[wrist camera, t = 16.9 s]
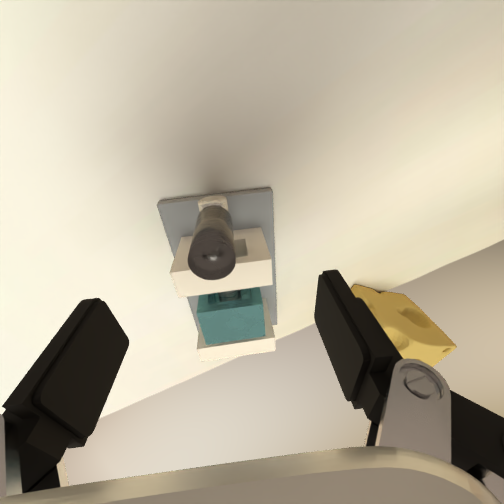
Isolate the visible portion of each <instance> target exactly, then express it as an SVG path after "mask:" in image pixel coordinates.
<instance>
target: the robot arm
mask: <svg viewBox="0 0 504 504" xmlns="http://www.w3.org/2000/svg"><path fill="white" fill-rule="evenodd" d="M314 318H315V322H316V325H317V328H318V330H319V333H320V335H321V337H322V340H323V343H324V345H325V348H326V350H327V353H328V356H329V358H330V361H331V363H332V366H333V368H334V371H335V373H336V375H337V378H338V381H339V383H340V386H341V388H342V391H343V393H344V396H345V398H346V400H347V401H351V402H352V404H353V407H354V409H361V408H363V409H364V412H365V414H366V416H367V418H368V419H369V420H370V421H369V426H368V430H367V434H366V438H365V443H364V447H349V448H341V449H333V450H324V451H315V452H306V453H298V454H291V455H284V456H277V457H270V458H262V459H255V460H247V461H241V462H233V463H226V464H219V465H211V466H205V467H197V468H190V469H183V470H176V471H169V472H162V473H155V474H148V475H141V476H134V477H128V478H120V479H113V480H106V481H100V482H93V483H86V484H79V485H73V486H69V482H68V477H67V473H66V468H65V463H64V458H63V455H64V452H65V450H66V448H76V447H83V446H84V445H85V443H86V441H87V438H88V436H90V435H91V434H92V433H93V431H94V429H95V427H96V424H97V422H98V419H99V417H100V414H101V412H102V410H103V407H104V405H105V402H106V400H107V397H108V395H109V393H110V390H111V388H112V385H113V383H114V380H115V378H116V376H117V373H118V371H119V368H120V366H121V363H122V361H123V359H124V356H125V354H126V351H127V349H128V346H129V339H128V337H127V336H126V334H125V332H124V331H123V329H122V328H121V326H120V325H119V323H118V321H117V320H116V318H115V317H114V315H113V314H112V312H111V310H110V309H109V307H108V306H107V304H106V303H105V302H104V301H102V300H101V299H99V298H94V299H85V300H82V301H81V302H80V303H79V304H78V305H77V307H76V308H75V309H74V311H73V312H72V313H71V315H70V316H69V317H68V319H67V320H66V321H65V323H64V324H63V325H62V327H61V328H60V329H59V331H58V332H57V333H56V335H55V336H54V338H53V339H52V340H51V342H50V343H49V344H48V346H47V347H46V348H45V350H44V351H43V352H42V354H41V355H40V356H39V358H38V359H37V360H36V362H35V363H34V364H33V366H32V367H31V368H30V370H29V371H28V372H27V374H26V375H25V376H24V378H23V379H22V380H21V382H20V383H19V384H18V386H17V387H16V388H15V390H14V391H13V392H12V394H11V395H10V396H9V398H8V399H7V400H6V402H5V403H4V404H3V406H2V407H4V408H5V409H6V410H5V412H4V413H3V414H2V415H1V414H0V504H504V418H503V417H501V416H499V415H497V414H495V413H493V412H491V411H489V410H488V409H486V408H484V407H482V406H480V405H478V404H476V403H474V402H472V401H470V400H468V399H466V398H464V397H463V396H461V395H459V394H457V393H455V392H453V391H451V390H450V388H449V386H448V384H447V382H446V380H445V379H444V378H443V377H442V376H441V374H440V373H439V372H438V371H436V370H435V369H434V368H433V367H431V366H430V365H428V364H426V363H424V362H422V361H419V360H416V359H409V358H406V359H403V357H402V356H401V354H400V353H399V352H398V350H397V349H396V347H395V346H394V344H393V343H392V341H391V340H390V338H389V337H388V335H387V334H386V333H385V331H384V330H383V328H382V327H381V325H380V324H379V322H378V321H377V319H376V318H375V316H374V315H373V314H372V312H371V311H370V309H369V308H368V306H367V305H366V303H365V302H364V301H363V299H361V298H360V297H355V295H354V294H353V292H352V291H351V289H350V288H349V286H348V285H347V283H346V282H345V280H344V279H343V277H342V276H341V274H340V273H339V271H338V270H328V271H323V273H322V275H319V278H318V287H317V296H316V305H315V314H314Z"/></svg>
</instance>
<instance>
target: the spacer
mask: <svg viewBox="0 0 504 504" xmlns="http://www.w3.org/2000/svg"><path fill="white" fill-rule="evenodd" d="M240 292H241V299H239V300H232V301H225V302H220V300H219V296H218V292H217V293H210V294H203V295H199V298H198V305H197V313H196V314H197V317H198V320H199V323H200V327H201V330H202V333H203V336H204V339H205V343H206V345H210V344H216V343H223V342H230V341H237V340H243V339H250V338H257V337H263V336H266V335H265V322H264V309H263V301H262V296H261V292H260V287H253V288H246V289H240Z"/></svg>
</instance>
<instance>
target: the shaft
mask: <svg viewBox="0 0 504 504" xmlns="http://www.w3.org/2000/svg"><path fill="white" fill-rule="evenodd" d="M198 206H199V211H200V213H199V214H198V217H197V221H196V225H195V229H194V233H193V237H192V241H191V246H190V250H189V254H188V259H187V260H188V266H189V268H190V270H191V271H192V272H193V273H194V274H195V275H196V276H198V277H200V278H202V279H205V280H219V279H222V278H225V277H226V276H228V275H229V274H230V273H231V272H232V271H233V269H234V267H235V264H236V256H235V245H234V234H233V223H232V217H231V215H230V213H229V211H228V205H227V198H226V197H224V196H209V197H205V198H202V199H200V200H199V201H198ZM218 296H219V300H220V302H225V301H232V300H239V299H241V292H240V289H239V290H232V291H225V292H218Z"/></svg>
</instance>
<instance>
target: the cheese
mask: <svg viewBox="0 0 504 504" xmlns="http://www.w3.org/2000/svg"><path fill="white" fill-rule="evenodd" d="M351 291H352V292H353V294H354V295H355V297H360V298H361V299H363V301H364V302H365V303H366V305H367V306H368V308H369V309H370V311H371V312H372V314H373V315H374V316H375V318H376V319H377V321H378V322H379V324H380V325H381V327H382V328H383V330H384V331H385V333H386V334H387V335H388V337H389V338H390V340H391V341H392V343H393V344H394V346H395V347H396V349H397V350H398V352H399V353H400V354H401V356H402V357H403V359H406V358H409V359H416V360H419V361H422V362H424V363H426V364H428V365H430V366H431V367H433V366H434V365H435V364H437V363H438V362H439V361H440V360H442V359H443V358H444V357H445V356H447V355H448V354H449V353H450V352H452V351H453V350H454V349H455V348H456V347H457V346H456V345H455V344H454V343H453V342H452V341H451V339H450V338H449V337H448V336H447V335H446V334H445V333H444V332H443V331H442V330H441V329H440V328H439V327H438V326H437V325H436V324H435V323H434V322H433V321H432V320H431V319H430V318H429V317H428V316H427V315H426V314H425V313H424V312H423V311H422V310H421V309H420V308H419V307H418V306H417V305H416V304H415V303H414V302H412V301H411V300H410V299H409V298H408V297H407V296H406V295H404V294H399V293H393V292H381V293H377V292H376V291H374V290H373V289H371V288H367V287H363V286H360V285H354V286H353V287H352V288H351Z"/></svg>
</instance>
